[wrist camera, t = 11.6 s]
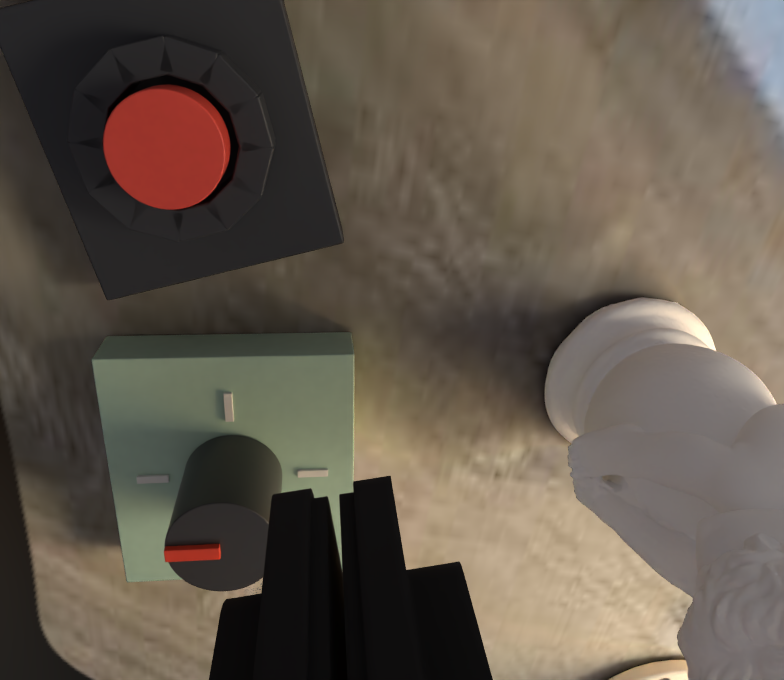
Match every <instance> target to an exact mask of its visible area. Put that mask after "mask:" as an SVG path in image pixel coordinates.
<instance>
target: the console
mask: <svg viewBox="0 0 784 680" xmlns="http://www.w3.org/2000/svg"><path fill="white" fill-rule="evenodd" d="M91 361H92V367H93V374H94V380H95V386H96V392H97V399H98V405H99V411H100V417H101V424H102V430H103V436H104V443H105V449H106V455H107V461H108V468H109V474H110V480H111V486H112V493H113V499H114V505H115V512H116V518H117V524H118V530H119V537H120V543H121V549H122V556H123V562H124V568H125V574H126V581H127V582H142V581H161V580H180V579H182V578H180V577H179V576H178V575H177V574H176V573H175V572H174V570H173V569H172V568H171V566H170V565H169V563H168V562H165V557H164V548H165V546H164V544H165V538H166V534H167V531H168V527H169V524H170V520H171V516H172V513H173V509H174V506H175V502H176V499H177V495H178V491H179V488H180V484H181V481H182V477H183V474H184V470H185V466H186V463H187V461H188V459H189V457H190V455H191V454H192V453H193V452H194V450H195V449H196V448H198V447H199V446H200V445H201V444H203V443H205V442H206V441H208V440H210V439H213V438H216V437H219V436H224V435H241V436H246V437H250V438H253V439H255V440H257V441H259V442H261V443H263V444H264V445H266V446H267V447H268V448H269V449H271V451H272V452H273V453H274V454H275V455H276V457H277V458H278V460H279V462H280V465H281V468H282V491H281V493H283V492H290V491H296V490H303V489H309V488H311V489H312V491H313V494H314V498H319V497H325V496H327V497H328V499H329V503H330V508H331V514H332V519H333V524H334V530H335V535H336V540H337V546H338V551H339V556H340V562H341V567H342V548H341V526H340V503H339V495H340V494H344V493H351V492H353V482H354V348H353V341H352V333H351V332H326V333H265V334H205V335H145V336H107V337H106V338H105V340H104V341H103V343H102V344H101V346H100V347H99V349H98V350H97V352H96V353H95V355H94V356H93V358H92V360H91ZM342 571H343V570H342Z"/></svg>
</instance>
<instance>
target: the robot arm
mask: <svg viewBox="0 0 784 680" xmlns="http://www.w3.org/2000/svg"><path fill="white" fill-rule="evenodd" d="M339 503H340V526H341V548H342V567H341V562H340V556H339V551H338V546H337V540H336V535H335V530H334V524H333V519H332V514H331V508H330V503H329V499H328V497H327V496H325V497H319V498H314V494H313V491H312V489H311V488H309V489H303V490H296V491H290V492H283V493H277V494H273V495H272V499H271V507H270V517H269V527H268V536H267V546H266V555H265V565H264V575H263V584H262V594H256V595H250V596H244V597H237V598H231V599H226V600H225V602H224V603H223V605H222V609H221V613H220V619H219V625H218V631H217V636H216V642H215V648H214V654H213V660H212V665H211V671H210V677H209V680H493V679H492V675H491V672H490V668H489V664H488V661H487V657H486V653H485V650H484V646H483V642H482V639H481V635H480V631H479V628H478V624H477V620H476V617H475V613H474V609H473V606H472V602H471V598H470V595H469V591H468V587H467V584H466V580H465V576H464V573H463V569H462V566H461V564H460V562H454V563H448V564H441V565H435V566H429V567H423V568H417V569H411V570H406V567H405V561H404V555H403V549H402V543H401V537H400V531H399V525H398V518H397V512H396V506H395V500H394V494H393V488H392V482H391V476H386V477H379V478H373V479H367V480H360V481H354V482H353V492H351V493H344V494H340V495H339ZM342 570H343V572H342ZM687 674H688V666H687V663H686V660H666V661H659V662H652V663H648V664H645V665H641V666H637V667H634V668H631V669H629V670H627V671H624V672H622V673H620V674H617V675H615V676H614V677H612V678H610V679H608V680H689V679H688V676H687Z"/></svg>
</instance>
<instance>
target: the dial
mask: <svg viewBox="0 0 784 680" xmlns="http://www.w3.org/2000/svg"><path fill="white" fill-rule="evenodd" d="M281 491H282V468H281V465H280V462H279V460H278V458H277V457H276V455H275V454H274V453H273V452H272V451H271V449H269V448H268V447H267V446H266V445H264V444H263V443H261V442H259V441H257V440H255V439H253V438H250V437H246V436H241V435H224V436H219V437H216V438H213V439H210V440H208V441H206V442H205V443H203V444H201V445H200V446H199V447H198V448H196V449H195V450H194V452H193V453H192V454H191V455H190V457H189V459H188V461H187V463H186V466H185V470H184V474H183V477H182V481H181V484H180V488H179V491H178V495H177V499H176V502H175V506H174V509H173V513H172V516H171V520H170V524H169V527H168V531H167V534H166V538H165V544H164V546H165V548H164V557H165V562H168V563H169V565H170V566H171V568H172V569H173V570H174V572H175V573H176V574H177V575H178V576H179V577H180V578H182V579H183V580H185V581H186V582H188V583H190V584H191V585H194V586H196V587H199V588H202V589H206V590H211V591H232V590H237V589H241V588H244V587H247V586H249V585H251V584H253V583H255V582H257V581H258V580H260V579H261V578H262V577H263V575H264V565H265V555H266V546H267V536H268V527H269V517H270V507H271V499H272V495H273V494H277V493H281Z"/></svg>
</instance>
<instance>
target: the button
mask: <svg viewBox="0 0 784 680" xmlns="http://www.w3.org/2000/svg"><path fill="white" fill-rule="evenodd" d="M103 151H104V156H105V160H106V163H107V166H108V168H109V170H110V172H111V174H112V176H113V177H114V179H115V180H116V182H117V183H118V184H119V185H120V187H121V188H122V189H123V190H124V191H125V192H127V193H128V194H129V195H130V196H132V197H133V198H135V199H136V200H138V201H139V202H141V203H144V204H146V205H148V206H151V207H154V208H159V209H166V210H176V209H183V208H187V207H190V206H193V205H195V204H197V203H199V202H201V201H202V200H204V199H205V198H206V197H208V196H209V195H210V194H211V193H212V192H213V190H214V189H215V188H216V186H217V185H218V183H219V182H220V180H221V178H222V176H223V175H224V173H225V171H226V168H227V166H228V162H229V158H230V137H229V133H228V130H227V127H226V124H225V122H224V120H223V118H222V116H221V115H220V113H219V112H218V111H217V109H216V108H215V107H214V106H213V105H212V104H211V103H210V102H209V101H208V100H207V99H206V98H204V97H203V96H202V95H200V94H199V93H197V92H195V91H193V90H191V89H188V88H185V87H182V86H178V85H170V84H166V85H156V86H152V87H149V88H146V89H143V90H141V91H138V92H136V93H133V94H131V95H129V96H128V97H126V98H125V99H123V100H122V101H121V102H120V103H119V104H118V105H117V106H116V107H115V108H114V110H113V111H112V112H111V114H110V116H109V118H108V120H107V123H106V125H105V129H104V134H103Z"/></svg>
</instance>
